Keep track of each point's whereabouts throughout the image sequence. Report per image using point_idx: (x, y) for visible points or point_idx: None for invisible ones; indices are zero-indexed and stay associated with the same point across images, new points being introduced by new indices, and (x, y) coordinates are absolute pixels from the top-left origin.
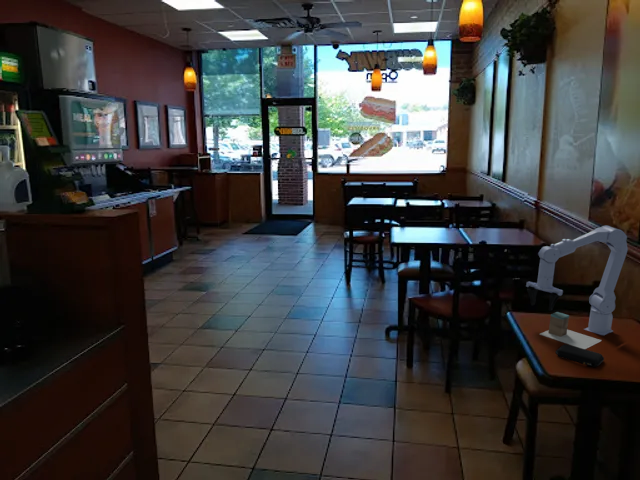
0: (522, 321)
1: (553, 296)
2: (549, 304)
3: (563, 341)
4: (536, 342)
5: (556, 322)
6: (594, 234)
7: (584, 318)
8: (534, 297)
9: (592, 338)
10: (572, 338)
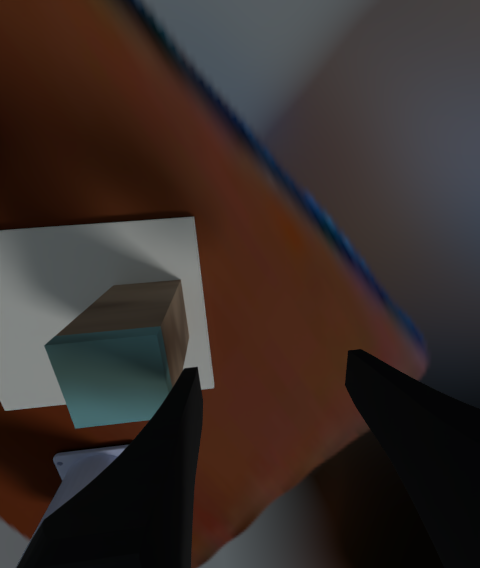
0: (350, 314)
1: (34, 551)
2: (180, 405)
3: (56, 239)
4: (128, 92)
5: (118, 313)
6: None
7: (219, 528)
8: (393, 431)
9: (39, 396)
10: (72, 318)
